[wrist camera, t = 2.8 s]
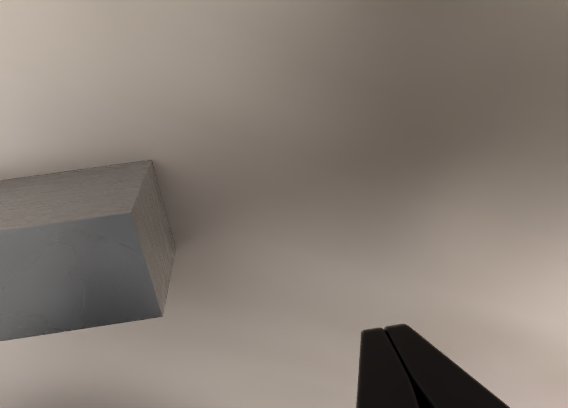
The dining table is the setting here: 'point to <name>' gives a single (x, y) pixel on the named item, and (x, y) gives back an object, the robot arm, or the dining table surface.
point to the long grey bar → (82, 250)
